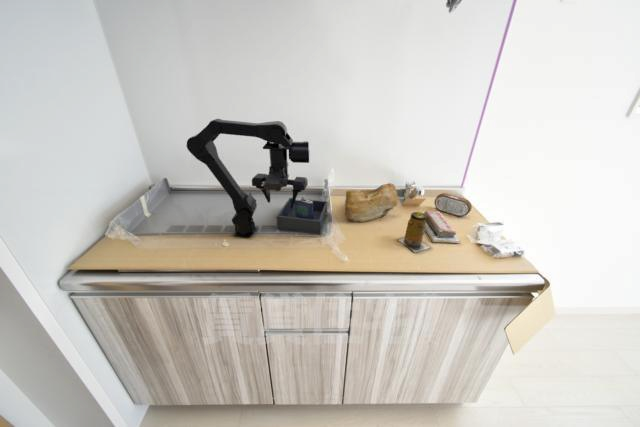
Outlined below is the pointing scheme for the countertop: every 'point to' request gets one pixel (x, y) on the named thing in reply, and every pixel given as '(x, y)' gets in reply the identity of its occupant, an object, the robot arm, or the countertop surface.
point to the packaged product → (439, 228)
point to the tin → (453, 204)
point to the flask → (303, 208)
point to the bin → (300, 224)
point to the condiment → (415, 232)
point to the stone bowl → (370, 203)
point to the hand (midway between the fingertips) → (281, 203)
